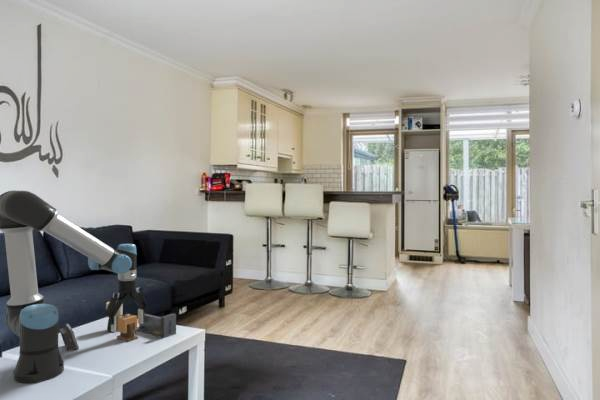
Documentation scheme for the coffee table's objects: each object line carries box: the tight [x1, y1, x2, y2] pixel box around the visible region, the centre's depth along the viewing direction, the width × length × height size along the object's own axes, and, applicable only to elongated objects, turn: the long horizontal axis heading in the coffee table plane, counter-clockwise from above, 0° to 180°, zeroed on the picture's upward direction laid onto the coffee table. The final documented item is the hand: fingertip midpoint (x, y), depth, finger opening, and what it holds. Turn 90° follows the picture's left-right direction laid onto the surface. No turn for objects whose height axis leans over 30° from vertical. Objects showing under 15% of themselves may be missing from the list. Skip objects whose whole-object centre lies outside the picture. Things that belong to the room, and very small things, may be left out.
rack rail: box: [134, 312, 177, 339], centre depth 197 cm, size 7×20×9 cm, turn 58°
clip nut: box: [116, 313, 138, 334], centre depth 188 cm, size 6×5×7 cm
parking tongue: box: [116, 323, 139, 343], centre depth 188 cm, size 5×8×7 cm, turn 58°
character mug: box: [105, 301, 124, 332], centre depth 199 cm, size 11×7×13 cm, turn 176°
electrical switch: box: [58, 323, 80, 352], centre depth 176 cm, size 9×5×9 cm, turn 38°
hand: (127, 327), depth 188 cm, fingers open, 13 cm apart
